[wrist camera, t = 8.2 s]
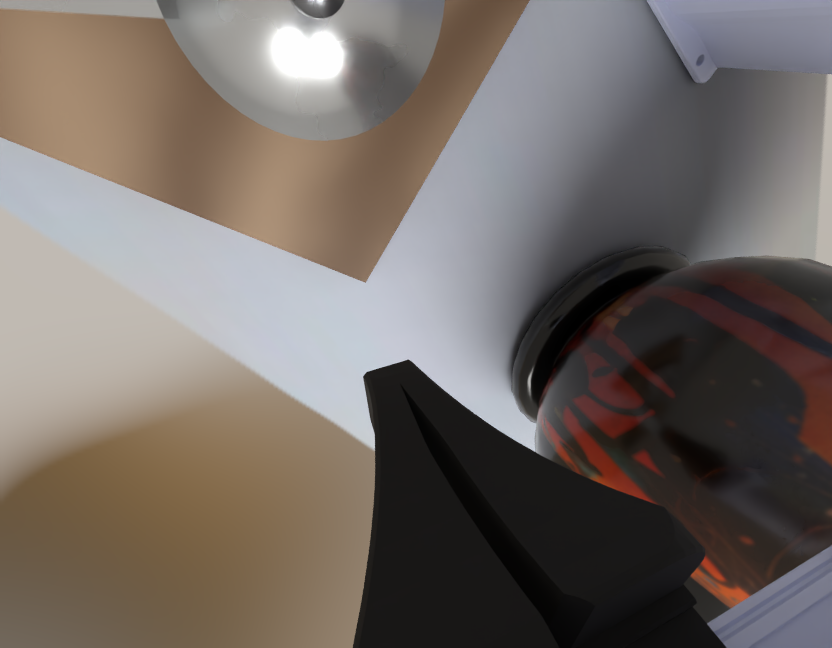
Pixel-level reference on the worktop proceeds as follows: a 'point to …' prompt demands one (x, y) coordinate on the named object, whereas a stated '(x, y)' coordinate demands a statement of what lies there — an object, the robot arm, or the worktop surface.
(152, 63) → the base board
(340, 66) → the silver disc with handle
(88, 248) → the worktop surface
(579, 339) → the amphora vase
